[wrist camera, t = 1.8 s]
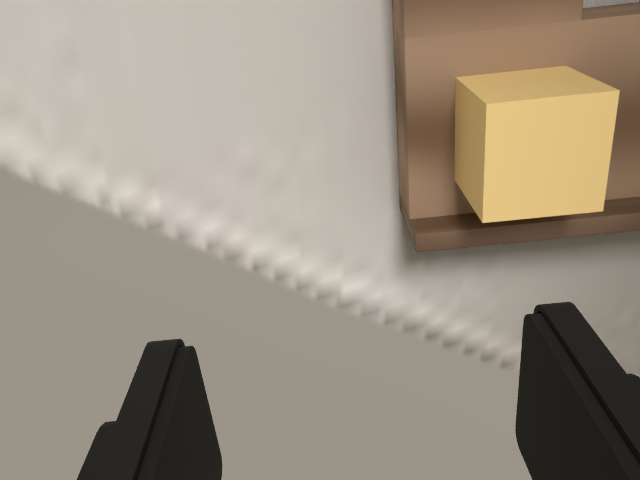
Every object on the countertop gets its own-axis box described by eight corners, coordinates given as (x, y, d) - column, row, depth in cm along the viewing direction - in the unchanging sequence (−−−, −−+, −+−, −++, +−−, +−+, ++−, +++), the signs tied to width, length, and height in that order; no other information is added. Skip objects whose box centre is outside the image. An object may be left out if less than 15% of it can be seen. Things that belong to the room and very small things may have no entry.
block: (455, 77, 22) (486, 104, 18) (566, 65, 22) (619, 90, 18) (454, 179, 24) (482, 223, 20) (556, 169, 24) (603, 211, 20)
